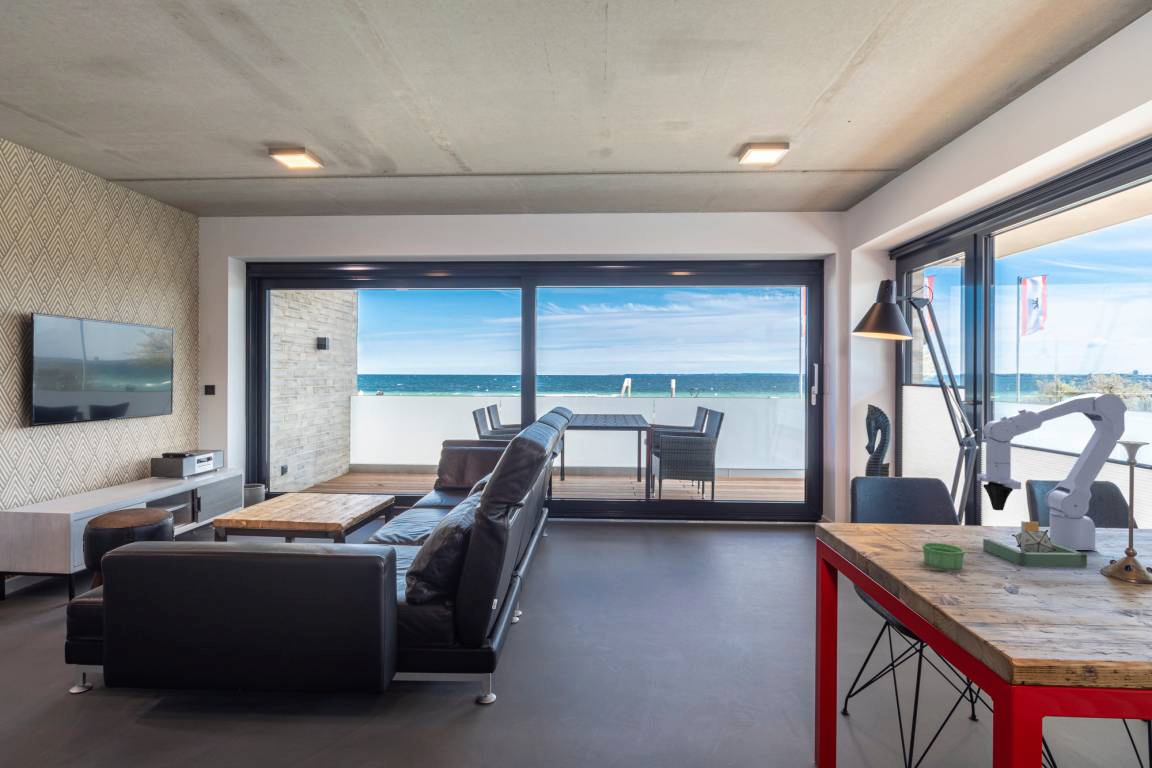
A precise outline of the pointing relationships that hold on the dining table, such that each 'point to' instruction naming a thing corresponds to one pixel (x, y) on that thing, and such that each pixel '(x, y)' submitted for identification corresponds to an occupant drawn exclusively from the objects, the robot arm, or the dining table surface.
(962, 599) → the dining table surface
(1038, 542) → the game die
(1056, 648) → the dining table surface
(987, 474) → the robot arm
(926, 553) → the ramekin
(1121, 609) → the dining table surface
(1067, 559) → the green tray
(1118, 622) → the dining table surface
